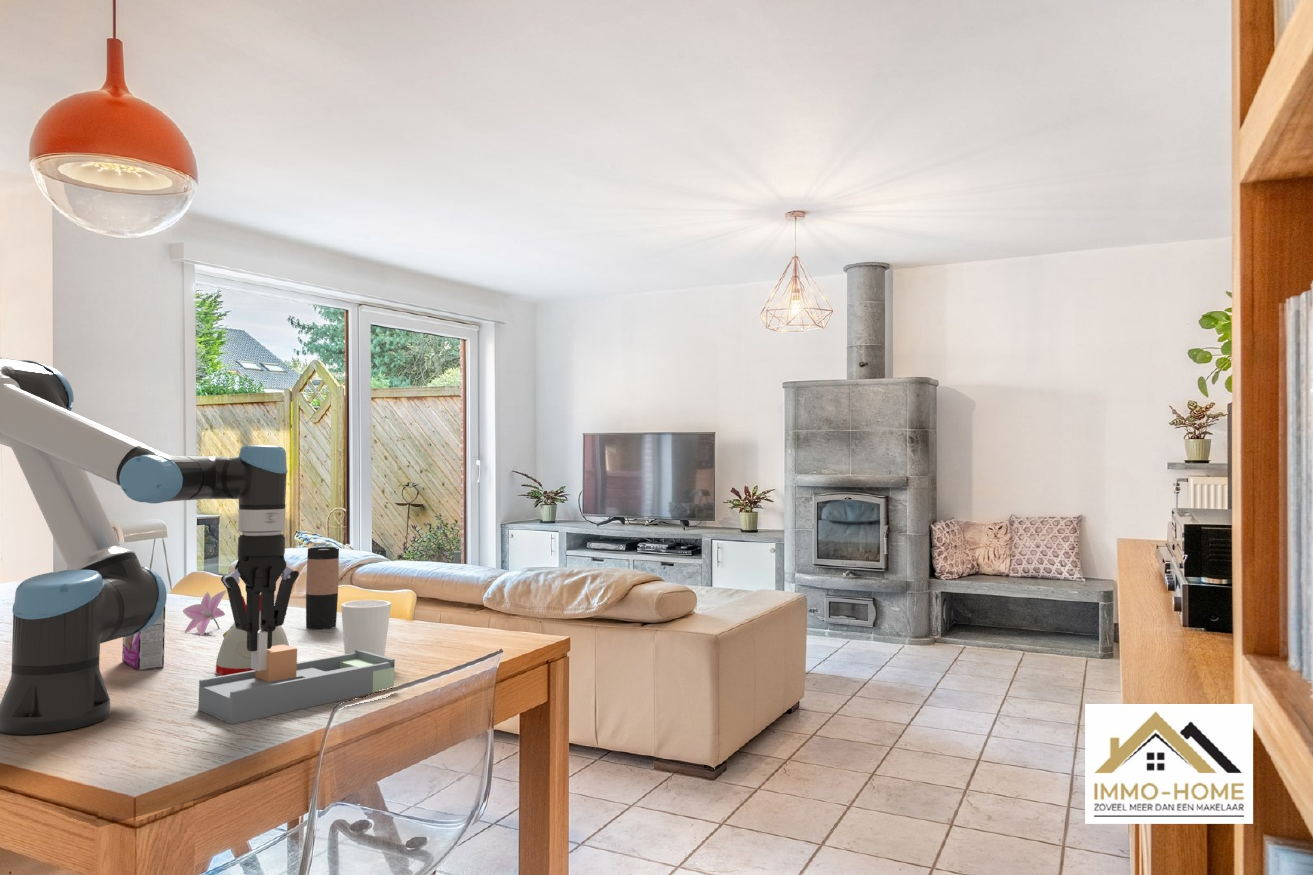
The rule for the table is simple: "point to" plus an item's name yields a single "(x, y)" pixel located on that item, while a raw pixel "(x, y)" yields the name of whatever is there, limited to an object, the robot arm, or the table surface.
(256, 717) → the box
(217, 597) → the lily
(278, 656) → the block
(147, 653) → the candy bar box
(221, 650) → the kitchen timer
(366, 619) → the cup
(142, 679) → the table surface
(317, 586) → the travel mug
